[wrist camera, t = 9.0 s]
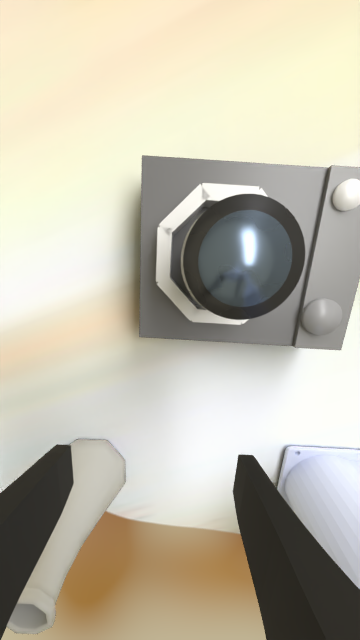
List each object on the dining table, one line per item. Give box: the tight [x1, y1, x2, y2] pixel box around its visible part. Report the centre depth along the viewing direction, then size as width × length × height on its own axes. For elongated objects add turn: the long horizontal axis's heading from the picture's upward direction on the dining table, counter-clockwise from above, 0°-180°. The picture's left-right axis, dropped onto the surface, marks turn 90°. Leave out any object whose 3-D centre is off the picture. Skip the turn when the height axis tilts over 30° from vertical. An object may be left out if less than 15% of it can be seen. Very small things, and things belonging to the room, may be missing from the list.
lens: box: [181, 194, 305, 320], centre depth 11 cm, size 5×5×6 cm
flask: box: [6, 439, 126, 634], centre depth 17 cm, size 7×7×10 cm
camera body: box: [139, 155, 360, 350], centre depth 15 cm, size 14×11×5 cm
